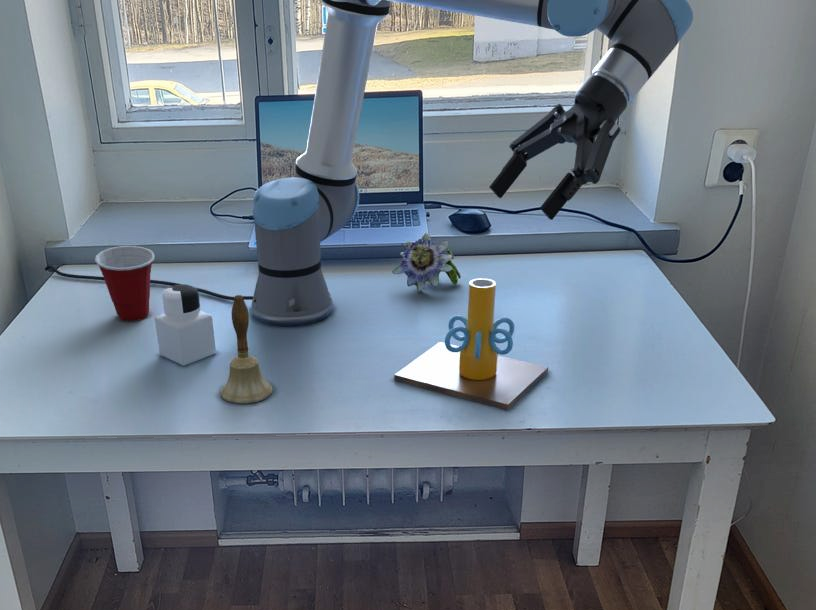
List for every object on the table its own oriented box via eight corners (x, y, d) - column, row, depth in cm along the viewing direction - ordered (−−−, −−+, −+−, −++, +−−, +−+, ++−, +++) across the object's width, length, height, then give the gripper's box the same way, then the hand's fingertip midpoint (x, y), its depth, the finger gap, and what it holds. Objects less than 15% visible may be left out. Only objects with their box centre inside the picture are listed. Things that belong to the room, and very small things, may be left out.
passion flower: (420, 316, 184) (385, 272, 178) (422, 287, 192) (389, 244, 186) (468, 288, 178) (433, 242, 172) (468, 260, 186) (435, 215, 180)
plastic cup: (123, 332, 168) (113, 269, 162) (95, 316, 175) (83, 255, 169) (173, 315, 174) (165, 254, 168) (144, 301, 181) (135, 241, 175)
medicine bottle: (192, 342, 163) (184, 277, 157) (217, 353, 159) (209, 287, 152) (159, 355, 159) (149, 289, 153) (183, 367, 155) (174, 299, 148)
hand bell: (224, 381, 150) (214, 287, 141) (275, 380, 149) (267, 286, 141) (217, 404, 143) (206, 308, 134) (270, 403, 142) (262, 306, 134)
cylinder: (509, 391, 141) (516, 299, 133) (441, 388, 143) (444, 296, 135) (512, 358, 151) (518, 270, 143) (448, 355, 153) (451, 268, 145)
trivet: (394, 380, 148) (394, 374, 147) (439, 347, 158) (439, 341, 157) (507, 410, 138) (508, 404, 137) (548, 372, 148) (548, 367, 148)
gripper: (678, 119, 132) (582, 239, 135) (570, 93, 151) (488, 198, 154) (655, 84, 127) (556, 208, 130) (547, 61, 147) (462, 170, 149)
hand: (519, 203), depth 142 cm, fingers open, 13 cm apart
